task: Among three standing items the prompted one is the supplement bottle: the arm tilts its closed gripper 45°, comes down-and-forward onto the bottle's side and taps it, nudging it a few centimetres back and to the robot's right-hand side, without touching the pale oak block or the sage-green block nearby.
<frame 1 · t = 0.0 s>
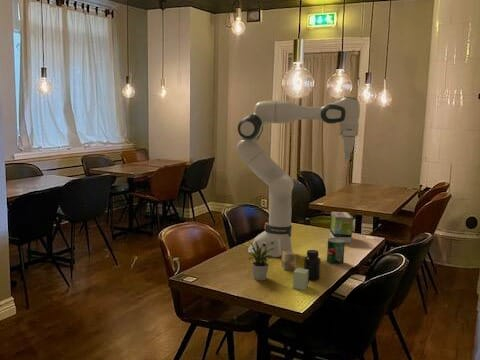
hand: (346, 160, 229), 48 cm above the table, tool pointing down, fingers open, 8 cm apart
sage block: (300, 287, 194), on the table
house plant: (256, 278, 204), on the table
supplement bottle: (311, 278, 205), on the table
oak block: (288, 267, 218), on the table
canned tomato: (334, 263, 228), on the table
tea box: (340, 240, 269), on the table
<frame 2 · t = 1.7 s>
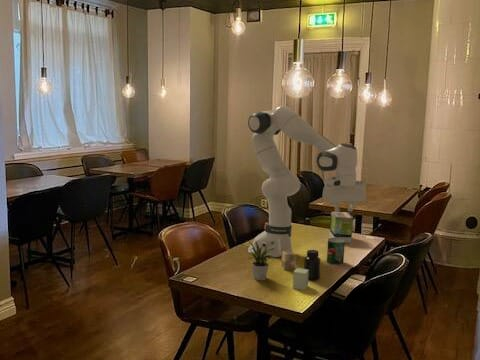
hand: (343, 211, 213), 27 cm above the table, tool pointing down, fingers open, 5 cm apart
nothing on the table moved.
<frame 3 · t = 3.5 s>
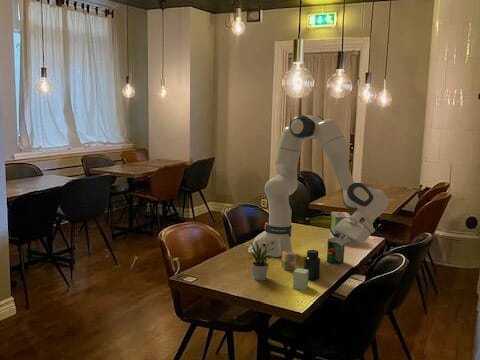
hand: (338, 244, 207), 14 cm above the table, tool tilted 45°, fingers closed
nothing on the table moved.
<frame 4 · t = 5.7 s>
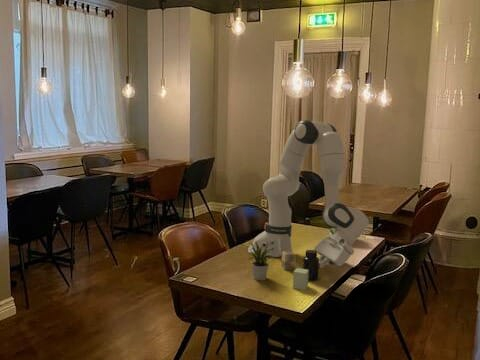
hand: (318, 265, 205), 5 cm above the table, tool tilted 45°, fingers closed, pressing on supplement bottle
supplement bottle: (310, 278, 205), on the table, touching gripper
everything else where it was.
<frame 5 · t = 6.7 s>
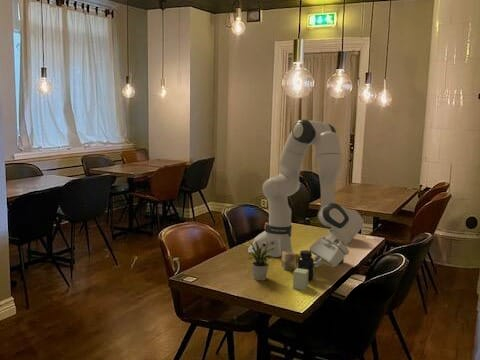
hand: (313, 266, 204), 5 cm above the table, tool tilted 45°, fingers closed, pressing on supplement bottle
supplement bottle: (305, 279, 204), on the table, touching gripper
everything else where it was.
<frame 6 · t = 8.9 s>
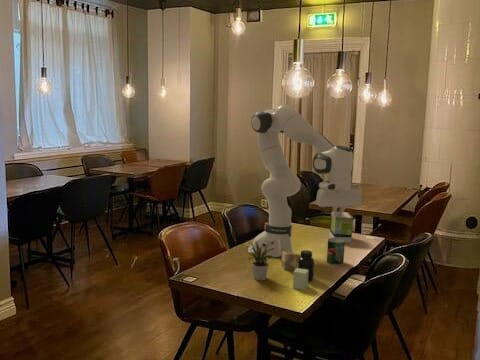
hand: (337, 216, 205), 27 cm above the table, tool pointing down, fingers closed
supplement bottle: (305, 279, 204), on the table
everything else where it was.
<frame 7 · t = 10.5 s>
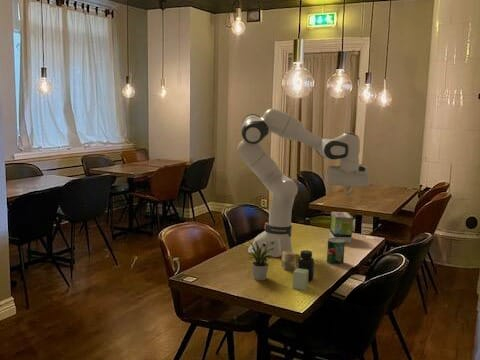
hand: (347, 194, 233), 31 cm above the table, tool pointing down, fingers closed
nothing on the table moved.
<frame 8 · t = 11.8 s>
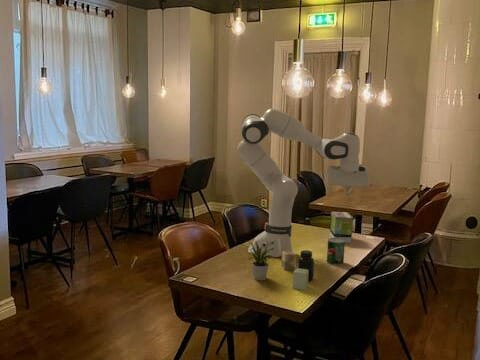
hand: (347, 194, 233), 31 cm above the table, tool pointing down, fingers closed
nothing on the table moved.
at the end: supplement bottle moved 3.1 cm from its start; supplement bottle tilted 0°; sage block moved 0.1 cm from its start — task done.
